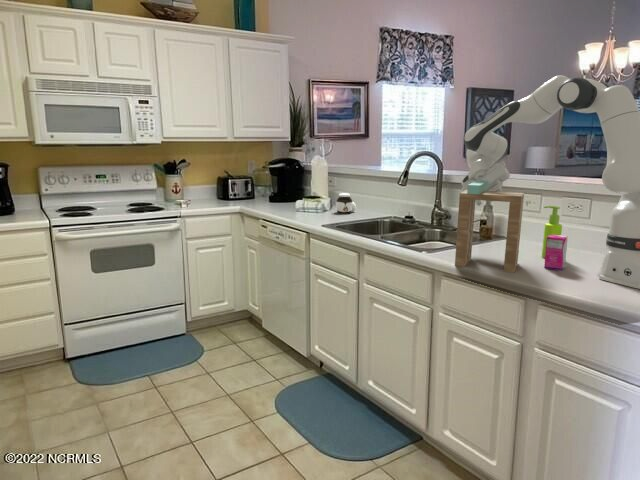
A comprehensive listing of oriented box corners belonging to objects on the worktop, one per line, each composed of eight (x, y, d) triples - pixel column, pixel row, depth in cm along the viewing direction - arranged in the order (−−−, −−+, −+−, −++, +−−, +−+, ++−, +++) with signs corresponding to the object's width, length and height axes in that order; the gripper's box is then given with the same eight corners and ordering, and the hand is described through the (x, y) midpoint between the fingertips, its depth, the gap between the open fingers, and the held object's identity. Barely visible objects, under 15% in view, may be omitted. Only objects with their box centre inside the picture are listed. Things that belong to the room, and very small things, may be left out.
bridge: (461, 257, 187) (466, 189, 182) (517, 263, 179) (524, 192, 174) (454, 265, 175) (459, 193, 170) (514, 272, 166) (521, 196, 161)
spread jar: (335, 213, 297) (335, 194, 295) (337, 210, 308) (337, 192, 306) (354, 214, 295) (355, 194, 293) (356, 211, 306) (357, 193, 304)
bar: (477, 188, 190) (477, 180, 189) (488, 188, 188) (488, 180, 188) (467, 193, 169) (467, 184, 168) (479, 194, 167) (479, 185, 166)
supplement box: (547, 264, 177) (551, 234, 175) (565, 267, 174) (569, 236, 172) (543, 268, 173) (546, 236, 171) (561, 270, 169) (564, 238, 167)
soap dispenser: (542, 254, 193) (547, 204, 189) (560, 258, 188) (566, 206, 184) (536, 257, 189) (541, 206, 185) (554, 260, 184) (560, 207, 180)
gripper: (508, 162, 194) (517, 186, 185) (467, 191, 207) (473, 215, 198) (498, 154, 191) (507, 178, 182) (457, 184, 204) (463, 208, 195)
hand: (489, 197), depth 190 cm, fingers open, 8 cm apart
